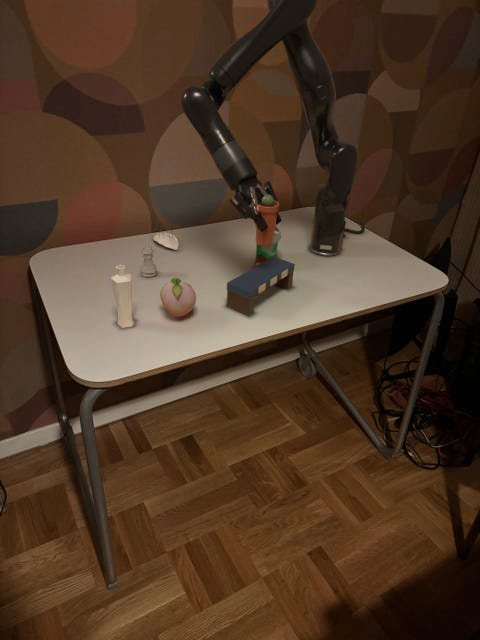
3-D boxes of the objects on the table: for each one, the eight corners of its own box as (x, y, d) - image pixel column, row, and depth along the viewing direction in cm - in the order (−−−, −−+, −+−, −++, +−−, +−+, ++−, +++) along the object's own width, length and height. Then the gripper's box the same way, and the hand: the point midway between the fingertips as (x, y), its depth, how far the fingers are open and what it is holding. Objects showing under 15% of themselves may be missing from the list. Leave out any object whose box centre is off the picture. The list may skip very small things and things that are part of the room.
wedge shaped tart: (275, 272, 144) (278, 240, 138) (254, 269, 145) (256, 237, 139) (281, 254, 154) (284, 223, 148) (261, 251, 155) (263, 221, 149)
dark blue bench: (271, 278, 141) (273, 256, 137) (292, 287, 137) (295, 264, 133) (226, 306, 127) (226, 282, 123) (248, 317, 124) (250, 292, 120)
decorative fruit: (200, 322, 121) (200, 286, 115) (167, 328, 118) (165, 291, 113) (190, 303, 128) (189, 268, 122) (158, 307, 125) (156, 272, 120)
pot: (264, 235, 127) (267, 188, 120) (280, 242, 124) (285, 195, 117) (248, 241, 124) (250, 193, 117) (264, 249, 120) (267, 200, 114)
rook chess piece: (160, 272, 141) (158, 246, 136) (151, 279, 137) (149, 252, 133) (146, 269, 142) (145, 243, 138) (137, 275, 139) (135, 249, 134)
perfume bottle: (117, 318, 121) (111, 262, 113) (135, 317, 121) (131, 262, 113) (114, 328, 117) (108, 271, 109) (134, 328, 117) (129, 271, 109)
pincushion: (185, 249, 154) (184, 231, 151) (167, 253, 151) (167, 236, 148) (164, 235, 162) (163, 218, 159) (147, 239, 158) (146, 222, 155)
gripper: (224, 162, 112) (264, 228, 113) (261, 150, 122) (298, 210, 122) (206, 180, 117) (244, 243, 118) (243, 167, 127) (278, 225, 128)
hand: (272, 226), depth 120 cm, fingers closed on pot, 5 cm apart
